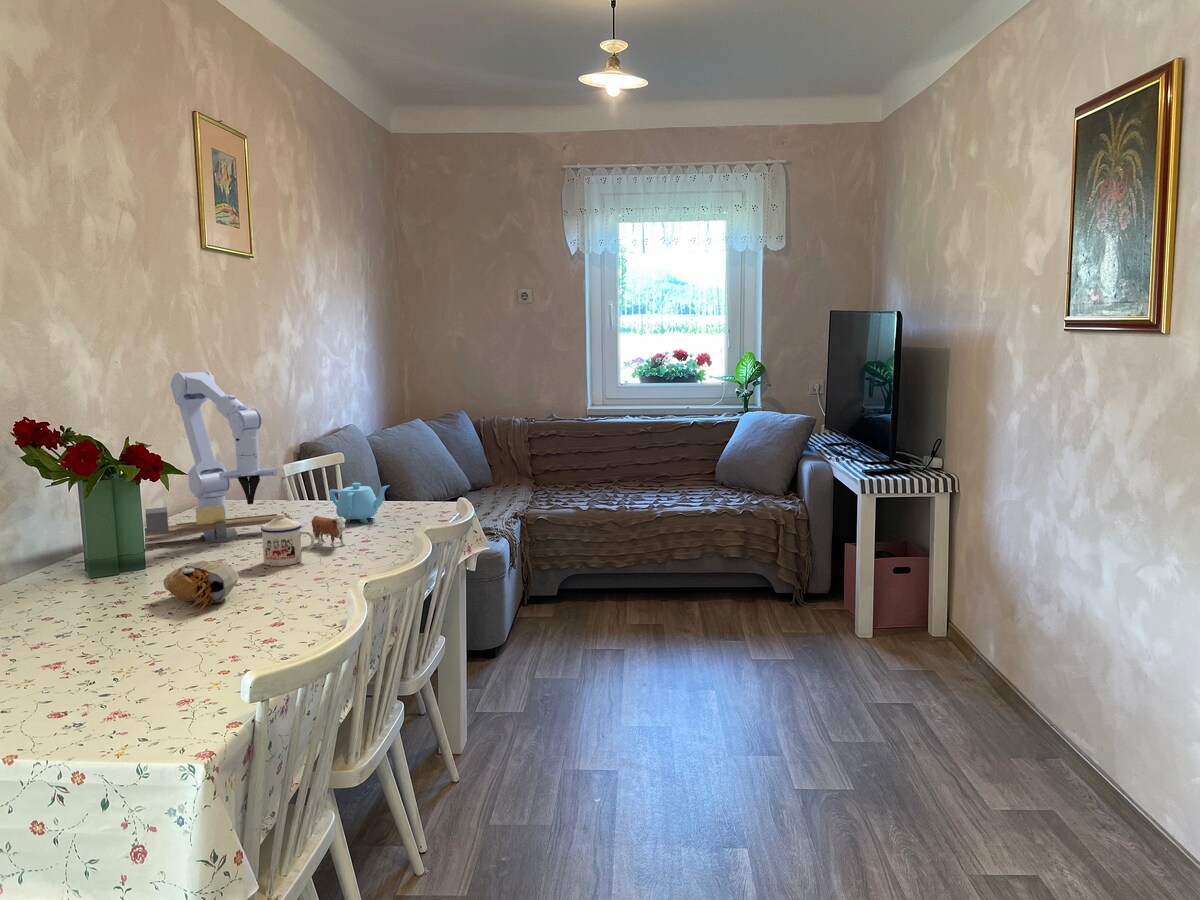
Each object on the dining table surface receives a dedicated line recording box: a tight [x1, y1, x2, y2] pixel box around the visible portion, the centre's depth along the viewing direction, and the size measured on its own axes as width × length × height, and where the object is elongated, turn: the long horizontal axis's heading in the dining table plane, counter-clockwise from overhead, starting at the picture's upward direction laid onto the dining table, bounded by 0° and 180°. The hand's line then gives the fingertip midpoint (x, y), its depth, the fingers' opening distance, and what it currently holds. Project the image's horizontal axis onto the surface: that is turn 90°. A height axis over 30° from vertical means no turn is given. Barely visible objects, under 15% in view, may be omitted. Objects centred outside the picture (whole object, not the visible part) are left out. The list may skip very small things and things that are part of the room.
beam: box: [144, 506, 293, 537], centre depth 242 cm, size 8×36×6 cm, turn 116°
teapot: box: [328, 482, 390, 524], centre depth 263 cm, size 13×14×11 cm
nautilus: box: [163, 560, 240, 616], centre depth 183 cm, size 8×22×15 cm
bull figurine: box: [311, 515, 351, 548], centre depth 232 cm, size 4×13×8 cm, turn 53°
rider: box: [194, 505, 226, 527], centre depth 241 cm, size 4×7×4 cm, turn 116°
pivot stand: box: [202, 523, 239, 544], centre depth 242 cm, size 12×8×5 cm, turn 26°
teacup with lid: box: [260, 513, 316, 567], centre depth 215 cm, size 12×9×12 cm
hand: (250, 503), depth 245 cm, fingers closed
